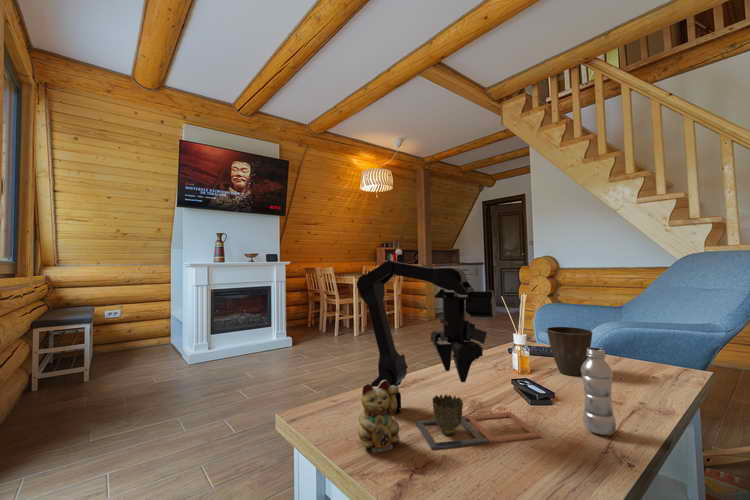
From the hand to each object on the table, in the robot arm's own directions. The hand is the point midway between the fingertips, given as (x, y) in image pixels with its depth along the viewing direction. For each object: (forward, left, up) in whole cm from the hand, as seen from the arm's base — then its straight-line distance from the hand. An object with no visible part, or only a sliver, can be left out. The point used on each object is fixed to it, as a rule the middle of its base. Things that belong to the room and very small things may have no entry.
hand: (454, 376), depth 88 cm
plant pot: (+58, +30, -13) cm, 67 cm away
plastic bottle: (+32, -11, -13) cm, 36 cm away
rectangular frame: (+3, -4, -12) cm, 13 cm away
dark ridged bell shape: (-4, -4, -13) cm, 14 cm away
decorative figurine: (-22, -6, -13) cm, 26 cm away
